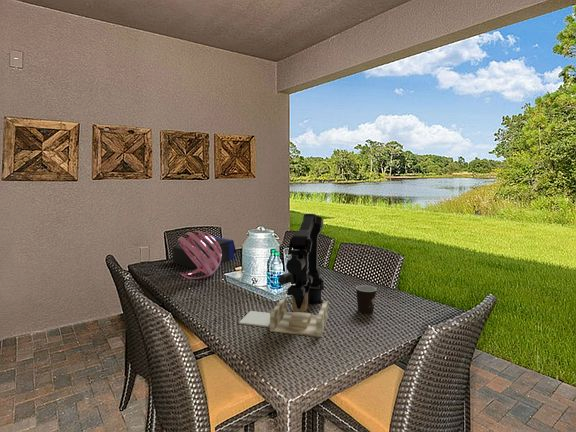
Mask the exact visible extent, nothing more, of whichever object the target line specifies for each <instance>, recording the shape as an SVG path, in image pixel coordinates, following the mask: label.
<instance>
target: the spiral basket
mask: <svg viewBox="0 0 576 432" xmlns="http://www.w3.org/2000/svg"><path fill="white" fill-rule="evenodd" d="M185 237H186V238H185ZM185 237H184V236H179V238H178V239H177V243H178V244H179V245H180V246H181V247H182V249H183V250H184V251H185V253H186V254H187V255H188V256H189V258H190V259H191V260H192V261H193V262H194V263H195V264H196V266H197V267H198V268H197V269H193V270H192V271H189V272H186V273H184V272H179V274H180V275H181V276H182V277H184V278H187V279H190V280H202V279H205V278H208V277H210V276H211V275H213V274H214V273H215V272H216V271H217V269H218V268H219V267H220V264H221V263H220V262H221V258H222V251H221V247H220V245H219V244H218V242H217V241H216V240H215V239H214V237H215V236H213V235H211V234H210V233H209V232H207V231H204V232H202V231H200V230H195V231H194V233H193V232H191V231H188V232H186V233H185ZM209 237H211V238H212V239H213V241H214V242H215V243H216V244H214V243H213V242H212V241H211V239H210V238H209ZM203 239H205V240H206V241H207V242H208V243H209V244H210V245H211V246H212V248H213V249H214V251H212V250H211V249H210V248H209V247H208V246H207V245H206V243H205V242H204V241H203ZM194 241H196V242H197V243H198V244H199V245H200V246H201V247H202V249H203V250H204V251H205V252H206V253H207V255H208V256H209V258H207V257H206V256H205V255H204V254H203V252H202V251H201V250H200V249H199V248H198V246H197V245H196V244H195V242H194ZM186 246H187V247H188V248H189V249H190V250H191V251H192V253H193V254H194V255H195V256H196V257H197V258H198V260H199V261H200V262H201V263H202V264H200V263H199V261H198V260H197V259H196V258H195V257H194V256H193V255H192V253H191V252H190V251H189V250H188V248H187V247H186ZM217 246H218V247H219V248H218V247H217ZM216 253H217V255H218V256H217V255H216ZM217 260H218V261H219V263H218V262H217ZM212 262H213V263H212ZM212 269H213V270H212ZM200 272H202V273H204V274H205V275H203V276H200V277H199V276H198V277H192V276H193V275H196V274H198V273H200ZM190 276H191V277H190Z"/></svg>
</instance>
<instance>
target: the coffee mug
mask: <svg viewBox="0 0 576 432" xmlns="http://www.w3.org/2000/svg"><path fill="white" fill-rule="evenodd" d="M355 292H356V301H357V311H358V312H359V313H360V314H363V315H365V314H366V315H368V314H373V313H374V310H375V309H374V308H375V301H376V296H377V288H376V287H374V286H371V285H364V284H362V285H357V286H356V287H355Z"/></svg>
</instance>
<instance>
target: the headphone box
mask: <svg viewBox="0 0 576 432" xmlns="http://www.w3.org/2000/svg"><path fill="white" fill-rule="evenodd" d="M213 237H214V239H215V240H216V241H217V242H218V244H219V245H220V247H221V251H222V258H221V262H220V264H223V263H226V261H228V262H231V261H230V260H232V261H234V259H235V256H234V254H237V250H236V246H235V242H234V239H229V238H224V237H223V238H222V237H218V236H213ZM209 238H210V239H211V241H212V242H213V243H214V244H216V243H215V242H214V241H213V239H212V238H211V237H210V236H209ZM202 239H203V241H204V242H205V243H206V245H207V246H208V247H209V248H210V249H211V250H212V251H214V249H213V248H212V246H211V245H210V244H209V243H208V242H207V241H206V240H205V239H204V238H202ZM193 241H194V242H195V244H196V245H197V246H198V248H199V249H200V250H201V251H202V252H203V254H204V255H205V256H206V257H207V258H209V256H208V255H207V253H206V252H205V251H204V250H203V249H202V247H201V246H200V245H199V244H198V243H197V242H196V241H195V240H193ZM186 247H187V246H186ZM217 247H218V246H217ZM187 248H188V247H187ZM218 248H219V247H218ZM188 250H189V251H190V252H191V253H192V251H191V250H190V249H189V248H188ZM192 255H193V256H194V257H195V258H196V259H197V260H198V258H197V257H196V256H195V255H194V254H193V253H192ZM216 255H217V253H216ZM217 256H218V255H217ZM172 261H173V262H172V263H173V264H175V265H178V264H179V266H181V265H182V267H185V266H186V268H188V267H189V269H192V270H196V269H197V268H198V267H197V266H196V264H195V263H194V262H193V261H192V260H191V259H190V258H189V256H188V255H187V254H186V253H185V251H184V250H183V249H182V247H181V246H180V244H179V245H176V246H173V247H172ZM198 261H199V260H198ZM217 262H218V263H219V261H218V260H217ZM199 263H200V264H202V263H201V262H200V261H199ZM212 263H213V262H212Z"/></svg>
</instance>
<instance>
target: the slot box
mask: <svg viewBox="0 0 576 432" xmlns="http://www.w3.org/2000/svg"><path fill="white" fill-rule="evenodd" d="M269 313H270V325H269V331H270V332H275V333H284V334H291V335H299V336H308V337H314V338H315V337H317V338H322V335H323V332H324V329H325V327H326V324H327V322H328V318H329V301H328V300H324V301H323V302H322V305H321V307H320V310H319V312H318V314H312V313H311V312H303V311H293V312H291V311H288V297H287V296H282V298H281V299H280V301H278V303H277V304H276V305H275V306H274V308H273V309H272V310H271V311H270V312H269Z"/></svg>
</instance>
